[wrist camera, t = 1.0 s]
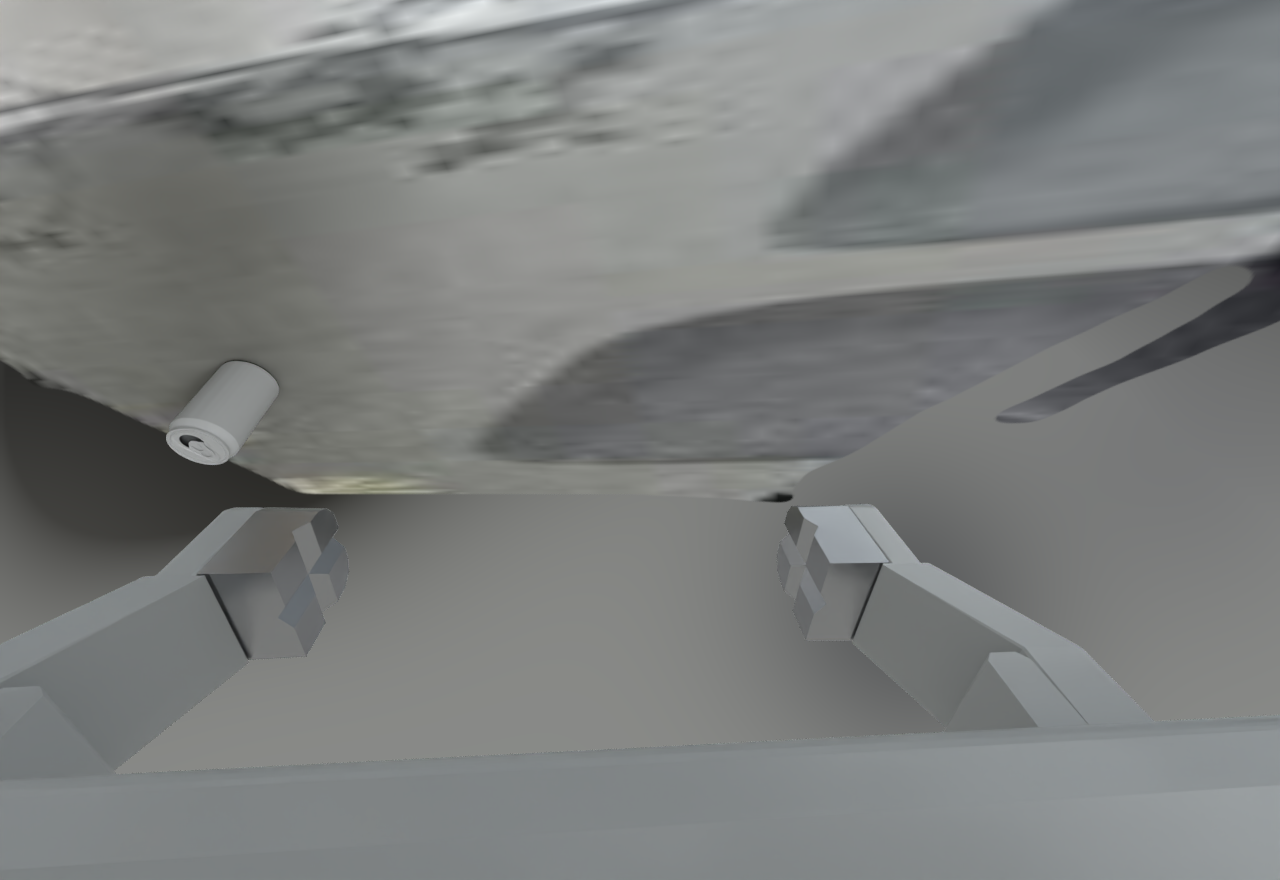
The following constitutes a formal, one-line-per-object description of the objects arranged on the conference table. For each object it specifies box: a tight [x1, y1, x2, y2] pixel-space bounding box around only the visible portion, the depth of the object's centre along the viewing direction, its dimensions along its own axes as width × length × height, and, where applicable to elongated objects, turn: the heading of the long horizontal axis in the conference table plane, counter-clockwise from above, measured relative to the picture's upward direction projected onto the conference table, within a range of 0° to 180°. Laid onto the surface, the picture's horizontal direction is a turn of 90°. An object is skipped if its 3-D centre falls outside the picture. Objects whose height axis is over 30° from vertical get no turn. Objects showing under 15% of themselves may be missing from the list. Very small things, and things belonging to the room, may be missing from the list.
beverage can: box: [166, 361, 279, 465], centre depth 58 cm, size 6×6×12 cm
